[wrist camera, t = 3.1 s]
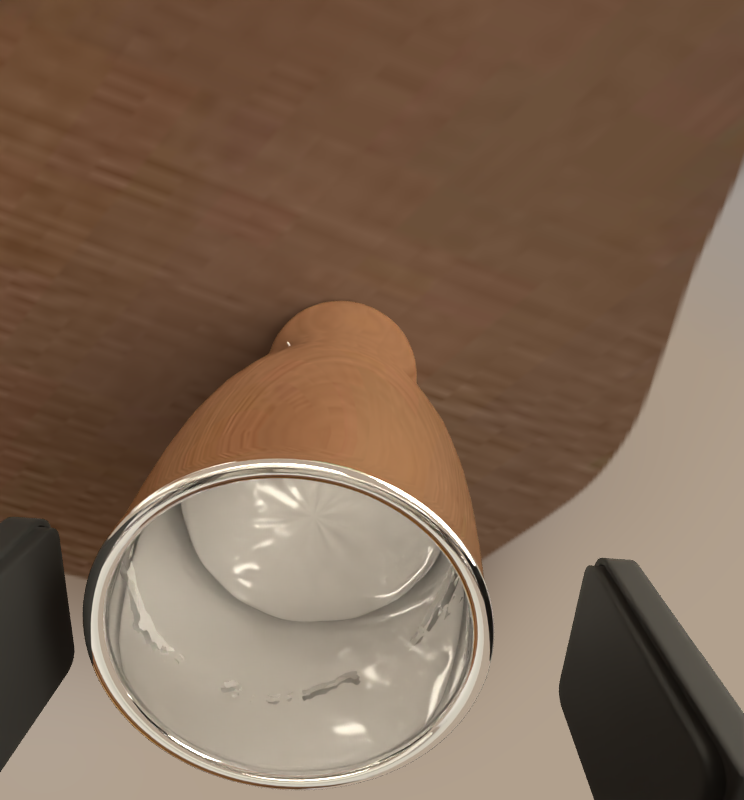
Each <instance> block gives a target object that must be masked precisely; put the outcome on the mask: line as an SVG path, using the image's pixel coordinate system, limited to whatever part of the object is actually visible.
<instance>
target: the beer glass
mask: <svg viewBox="0 0 744 800" xmlns="http://www.w3.org/2000/svg"><path fill="white" fill-rule="evenodd" d="M416 379H417V372H416V362H415V357H414V354H413V351H412V348H411V346H410V343H409V341H408V340H407V338H406V336H405V335H404V333H403V332H402V331H401V329H400V328H399V327H398V326H397V325H396V324H395V323H394V322H393V321H392V320H391V319H390V318H389V317H387V316H386V315H385V314H383V313H382V312H380V311H378V310H376V309H374V308H372V307H370V306H367V305H364V304H361V303H357V302H351V301H330V302H324V303H320V304H317V305H314V306H311V307H309V308H307V309H305V310H303V311H301V312H300V313H298V314H297V315H295V316H294V317H293V318H292V319H290V320H289V321H288V322H287V323H286V324H285V326H284V327H283V328H282V329H281V331H280V332H279V333H278V335H277V337H276V339H275V340H274V343H273V345H272V347H271V350H270V353H269V355H267V356H264V357H262V358H261V359H259V360H257V361H256V362H254V363H252V364H251V365H249V366H248V367H246V368H244V369H243V370H241V371H240V372H238V373H237V374H235V375H234V376H232V377H231V378H229V379H228V380H227V381H226V382H225V383H223V384H222V385H221V386H220V387H219V388H218V389H217V390H216V391H215V392H214V393H213V394H212V395H211V396H210V397H209V398H208V399H207V400H206V401H205V402H204V403H203V404H202V405H201V406H200V407H199V408H198V409H197V410H196V411H195V412H194V413H193V414H192V415H191V417H190V418H189V419H188V420H187V422H186V423H185V424H184V426H183V427H182V428H181V430H180V431H179V432H178V433H177V435H176V436H175V437H174V439H173V440H172V441H171V443H170V444H169V445H168V447H167V448H166V449H165V451H164V452H163V454H162V456H161V457H160V459H159V460H158V462H157V463H156V465H155V466H154V468H153V470H152V471H151V473H150V474H149V476H148V477H147V479H146V480H145V482H144V484H143V485H142V487H141V489H140V490H139V492H138V494H137V495H136V497H135V499H134V500H133V502H132V504H131V506H130V507H129V509H128V510H127V512H126V514H125V515H124V517H123V518H122V519H121V520H120V521H119V523H118V524H117V525H116V526H115V527H114V529H113V530H112V531H111V533H110V534H109V535H108V537H107V538H106V540H105V541H104V543H103V545H102V546H101V548H100V550H99V552H98V554H97V556H96V558H95V560H94V563H93V565H92V568H91V571H90V573H89V576H88V580H87V584H86V589H85V594H84V601H83V628H84V636H85V642H86V646H87V650H88V654H89V657H90V660H91V663H92V666H93V668H94V671H95V673H96V675H97V677H98V679H99V681H100V683H101V685H102V687H103V689H104V690H105V692H106V694H107V695H108V697H109V698H110V700H111V701H112V702H113V704H114V705H115V706H116V708H117V709H118V710H119V711H120V712H121V714H122V715H123V716H124V717H125V718H126V719H127V721H129V723H131V725H132V726H133V727H134V728H136V729H137V730H138V731H139V732H140V733H141V734H142V735H144V736H145V737H146V738H147V739H148V740H150V741H151V742H152V743H154V744H155V745H156V746H158V747H159V748H160V749H162V750H164V751H165V752H167V753H168V754H170V755H172V756H173V757H175V758H177V759H179V760H180V761H182V762H184V763H186V764H188V765H190V766H192V767H194V768H197V769H199V770H201V771H204V772H206V773H209V774H211V775H214V776H217V777H220V778H223V779H227V780H230V781H233V782H237V783H241V784H246V785H251V786H257V787H263V788H271V789H282V790H317V789H328V788H336V787H342V786H347V785H352V784H357V783H361V782H364V781H368V780H371V779H374V778H377V777H380V776H383V775H385V774H388V773H390V772H393V771H395V770H397V769H399V768H401V767H404V766H405V765H407V764H409V763H411V762H413V761H414V760H416V759H418V758H420V757H421V756H423V755H424V754H426V753H427V752H428V751H430V750H431V749H433V748H434V747H435V746H437V745H438V744H439V743H440V742H441V741H442V740H444V739H445V738H446V737H447V736H448V735H449V734H450V733H451V732H452V731H453V730H454V729H455V728H456V727H457V726H458V724H459V723H460V722H461V721H462V720H463V718H464V717H465V716H466V714H467V713H468V712H469V710H470V709H471V707H472V706H473V704H474V702H475V701H476V699H477V697H478V695H479V693H480V691H481V689H482V687H483V685H484V682H485V680H486V677H487V674H488V671H489V667H490V663H491V658H492V653H493V644H494V619H493V611H492V605H491V600H490V596H489V593H488V590H487V587H486V584H485V580H484V575H483V567H482V560H481V553H480V546H479V540H478V534H477V528H476V523H475V517H474V511H473V506H472V502H471V498H470V494H469V490H468V487H467V483H466V479H465V475H464V471H463V468H462V465H461V462H460V459H459V457H458V455H457V452H456V450H455V447H454V445H453V442H452V440H451V437H450V435H449V432H448V430H447V428H446V426H445V424H444V422H443V420H442V419H441V417H440V416H439V414H438V413H437V411H436V410H435V408H434V407H433V405H432V404H431V402H430V401H429V400H428V398H427V397H426V395H425V394H424V393H423V391H422V390H421V389H420V388H419V386H418V385H417V384H416Z"/></svg>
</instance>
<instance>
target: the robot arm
mask: <svg viewBox="0 0 744 800" xmlns="http://www.w3.org/2000/svg"><path fill="white" fill-rule="evenodd" d="M73 658H74V642H73V635H72V627H71V620H70V612H69V606H68V598H67V591H66V583H65V575H64V568H63V560H62V553H61V546H60V538H59V534H58V531H57V530H56V529H54V528H51V527H50V524H49V523H48V521H47V520H45V519H37V518H23V517H8V518H7V519H5V520H3V521H2V522H1V523H0V772H1V770H2V769H3V767H4V766H5V764H6V763H7V761H8V760H9V758H10V757H11V755H12V754H13V753H14V751H15V750H16V748H17V747H18V745H19V744H20V742H21V741H22V739H23V738H24V736H25V735H26V733H27V732H28V730H29V729H30V727H31V726H32V725H33V723H34V722H35V720H36V718H37V717H38V716H39V714H40V713H41V711H42V710H43V708H44V707H45V705H46V704H47V702H48V701H49V699H50V698H51V697H52V695H53V694H54V692H55V691H56V689H57V688H58V686H59V685H60V683H61V682H62V680H63V678H64V677H65V676H66V674H67V673H68V671H69V669H70V667H71V665H72V662H73ZM559 696H560V703H561V707H562V710H563V712H564V715H565V718H566V721H567V723H568V726H569V729H570V732H571V735H572V738H573V741H574V744H575V746H576V749H577V752H578V755H579V758H580V761H581V763H582V766H583V769H584V772H585V774H586V778H587V780H588V783H589V786H590V789H591V792H592V794H593V797H594V800H744V713H743V711H742V710H741V709H740V707H739V706H738V705H737V703H736V702H735V700H734V699H733V697H732V696H731V695H730V693H729V692H728V690H727V689H726V687H725V686H724V685H723V683H722V682H721V680H720V679H719V678H718V676H717V675H716V674H715V672H714V671H713V669H712V668H711V666H710V665H709V664H708V662H707V661H706V659H705V658H704V656H703V655H702V654H701V652H700V651H699V650H698V649H697V647H696V646H695V644H694V643H693V641H692V640H691V639H690V637H689V636H688V635H687V633H686V632H685V630H684V629H683V627H682V626H681V624H680V623H679V622H678V620H677V619H676V617H675V616H674V615H673V613H672V612H671V610H670V609H669V608H668V606H667V605H666V603H665V602H664V601H663V599H662V598H661V596H660V595H659V593H658V592H657V591H656V589H655V588H654V586H653V585H652V584H651V582H650V581H649V579H648V578H647V576H646V575H645V574H644V572H643V571H642V569H641V568H640V567H639V565H638V564H637V563H636V562H635V561H633V560H625V559H609V558H600V559H598V560H597V562H596V564H595V566H588V567H587V568H586V570H585V573H584V577H583V581H582V586H581V590H580V595H579V599H578V603H577V608H576V612H575V617H574V621H573V626H572V630H571V635H570V639H569V643H568V647H567V652H566V656H565V661H564V665H563V670H562V674H561V678H560V684H559Z"/></svg>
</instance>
